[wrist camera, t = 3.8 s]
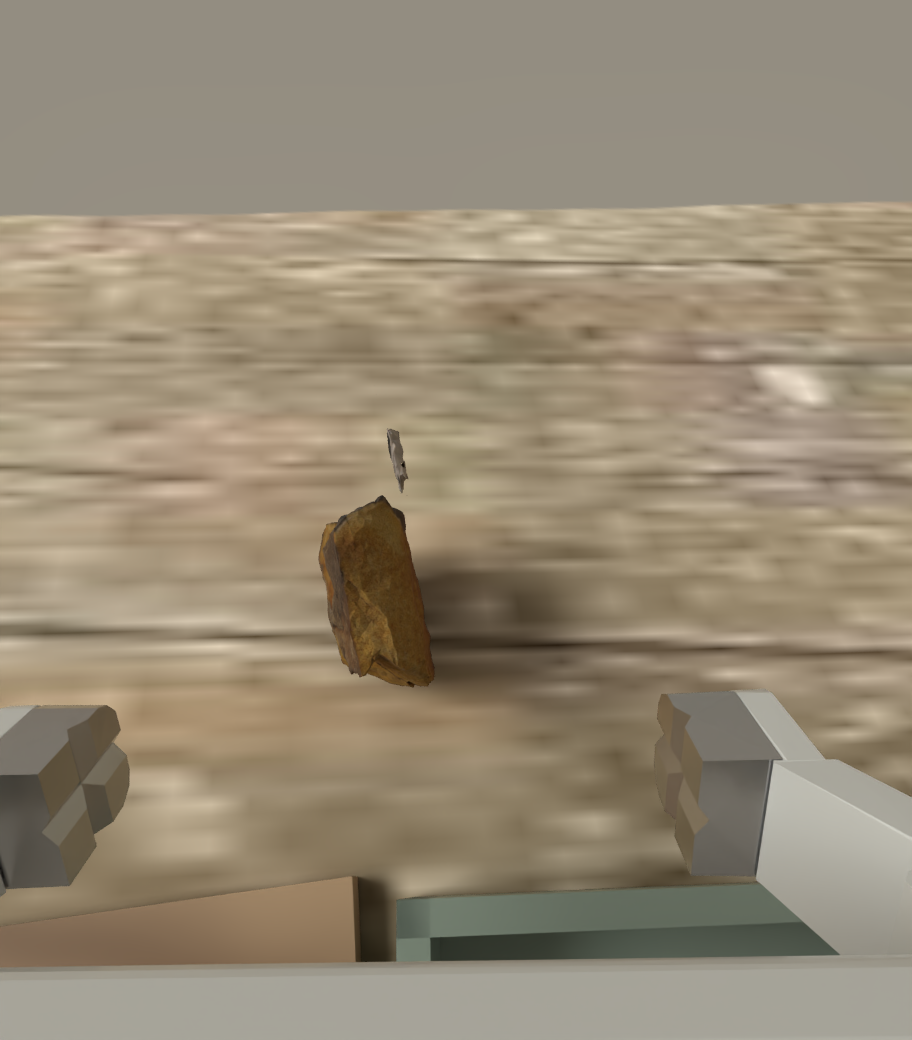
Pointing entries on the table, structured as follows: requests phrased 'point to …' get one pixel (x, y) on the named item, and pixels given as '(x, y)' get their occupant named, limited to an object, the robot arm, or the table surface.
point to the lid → (201, 931)
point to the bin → (604, 925)
